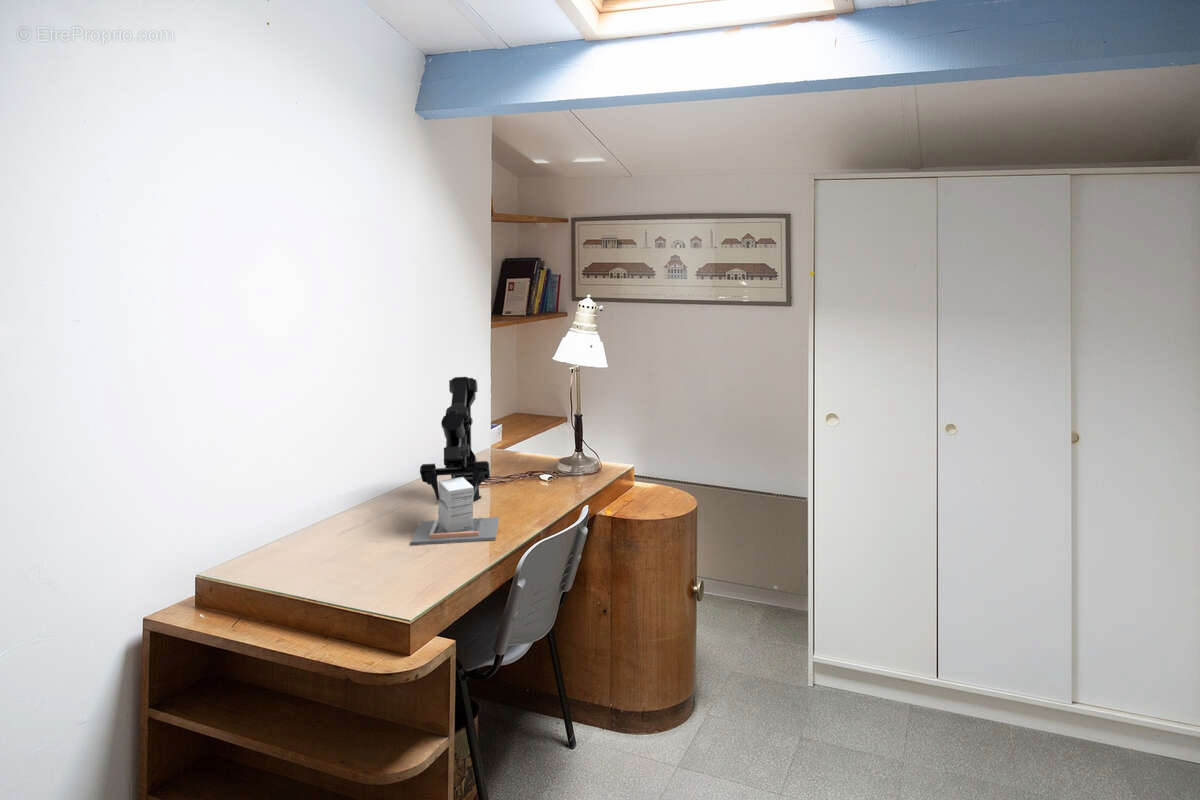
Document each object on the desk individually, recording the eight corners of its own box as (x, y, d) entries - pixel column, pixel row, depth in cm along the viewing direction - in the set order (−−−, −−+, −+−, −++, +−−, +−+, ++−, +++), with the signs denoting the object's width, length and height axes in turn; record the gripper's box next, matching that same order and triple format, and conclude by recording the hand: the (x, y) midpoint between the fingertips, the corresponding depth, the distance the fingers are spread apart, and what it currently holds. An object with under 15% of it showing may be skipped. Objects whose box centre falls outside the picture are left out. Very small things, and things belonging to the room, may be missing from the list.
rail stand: (420, 524, 224) (420, 518, 224) (498, 519, 226) (498, 513, 226) (410, 545, 207) (410, 538, 206) (495, 540, 208) (495, 533, 208)
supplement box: (437, 522, 218) (438, 480, 214) (462, 517, 222) (463, 476, 218) (447, 534, 212) (448, 491, 208) (473, 528, 216) (474, 486, 212)
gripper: (418, 435, 217) (415, 485, 208) (487, 432, 218) (487, 481, 209) (424, 457, 226) (421, 505, 217) (490, 454, 227) (490, 502, 218)
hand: (454, 498), depth 215 cm, fingers open, 9 cm apart
